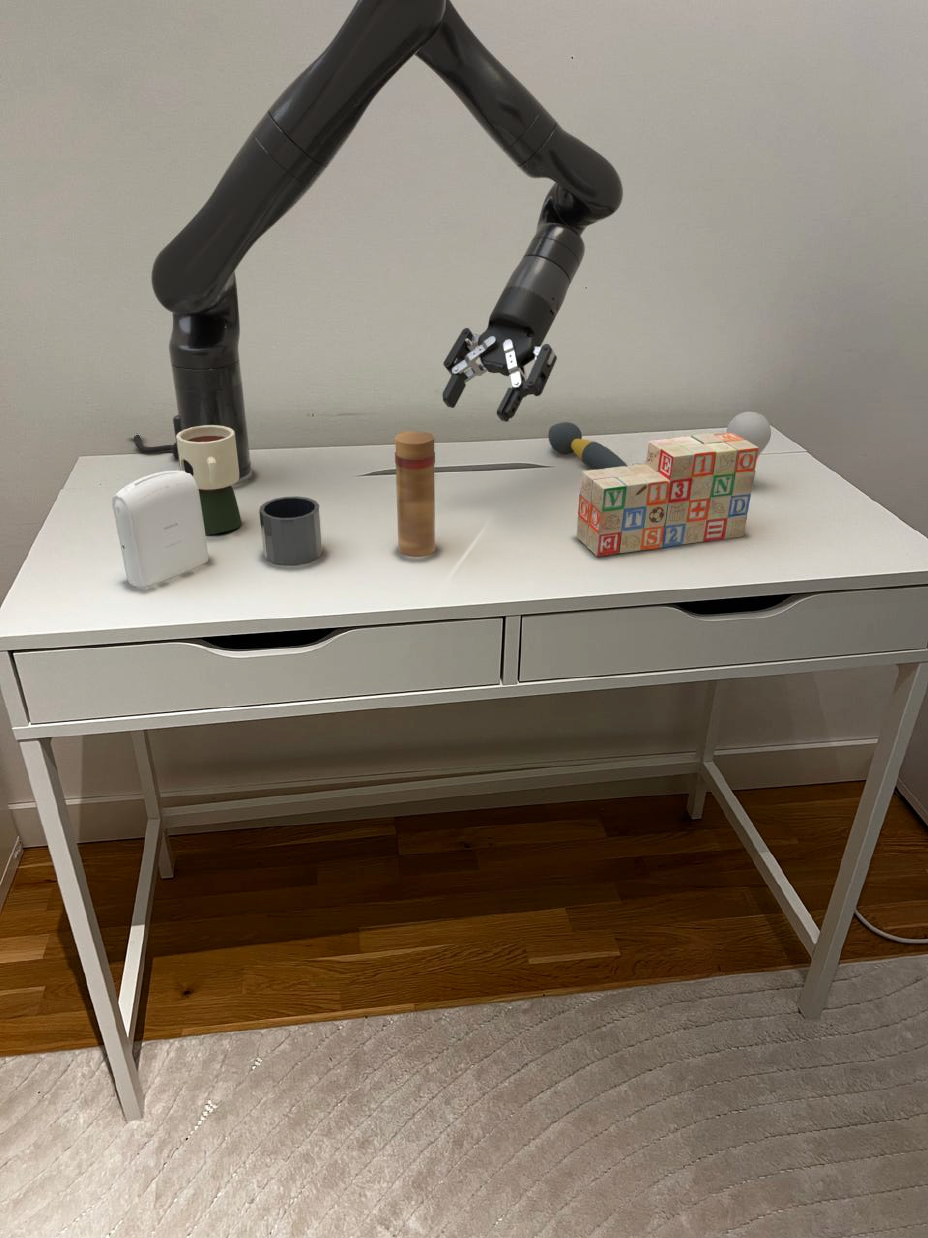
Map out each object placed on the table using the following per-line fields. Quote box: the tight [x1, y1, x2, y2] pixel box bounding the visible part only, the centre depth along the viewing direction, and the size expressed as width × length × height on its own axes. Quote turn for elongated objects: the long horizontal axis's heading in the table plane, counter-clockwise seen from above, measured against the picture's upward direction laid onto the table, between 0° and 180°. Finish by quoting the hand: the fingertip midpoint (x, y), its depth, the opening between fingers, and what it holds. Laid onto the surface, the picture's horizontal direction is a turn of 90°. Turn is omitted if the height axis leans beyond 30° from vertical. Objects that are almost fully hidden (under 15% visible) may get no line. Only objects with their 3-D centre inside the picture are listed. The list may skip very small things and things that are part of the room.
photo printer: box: [111, 470, 209, 588], centre depth 113 cm, size 10×4×12 cm, turn 140°
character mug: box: [175, 425, 243, 536], centre depth 124 cm, size 11×7×13 cm, turn 19°
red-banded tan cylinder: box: [394, 430, 436, 558], centre depth 118 cm, size 5×5×15 cm
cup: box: [258, 495, 324, 567], centre depth 119 cm, size 7×7×6 cm
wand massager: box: [547, 421, 628, 470], centre depth 148 cm, size 20×5×5 cm, turn 38°
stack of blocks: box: [576, 432, 759, 557], centre depth 123 cm, size 21×6×12 cm, turn 109°
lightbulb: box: [725, 411, 772, 459], centre depth 139 cm, size 6×6×11 cm
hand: (474, 411), depth 122 cm, fingers open, 8 cm apart
